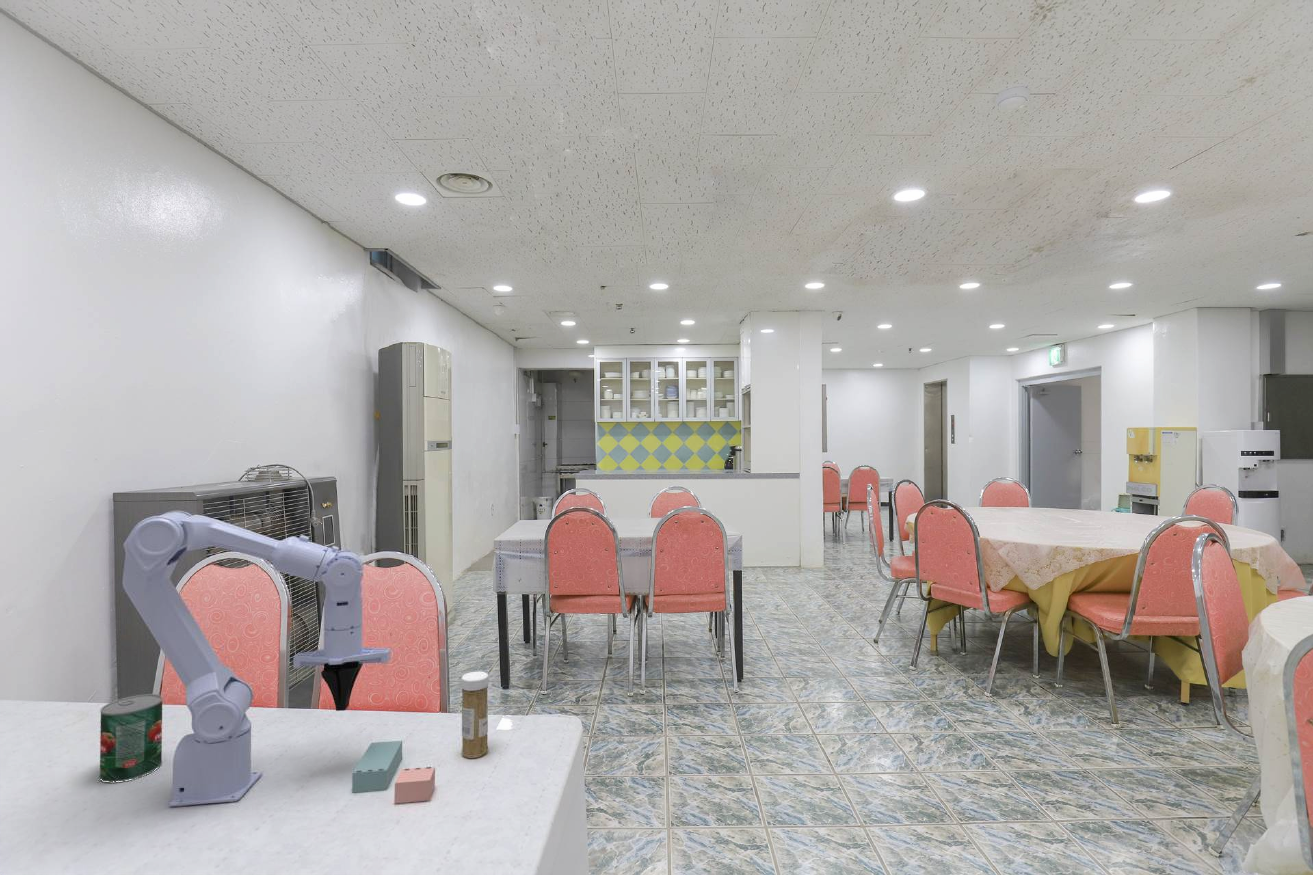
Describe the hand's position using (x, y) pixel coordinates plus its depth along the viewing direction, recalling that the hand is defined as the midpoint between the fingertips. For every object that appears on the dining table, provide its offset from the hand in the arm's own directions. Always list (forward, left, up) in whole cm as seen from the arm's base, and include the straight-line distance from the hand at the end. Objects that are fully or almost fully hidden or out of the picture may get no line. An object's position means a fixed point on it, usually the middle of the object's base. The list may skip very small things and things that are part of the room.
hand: (342, 708), depth 103 cm
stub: (+14, -10, -10) cm, 20 cm away
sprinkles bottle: (+21, +2, -10) cm, 23 cm away
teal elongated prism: (+7, -3, -10) cm, 12 cm away
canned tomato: (-34, +5, -10) cm, 36 cm away
